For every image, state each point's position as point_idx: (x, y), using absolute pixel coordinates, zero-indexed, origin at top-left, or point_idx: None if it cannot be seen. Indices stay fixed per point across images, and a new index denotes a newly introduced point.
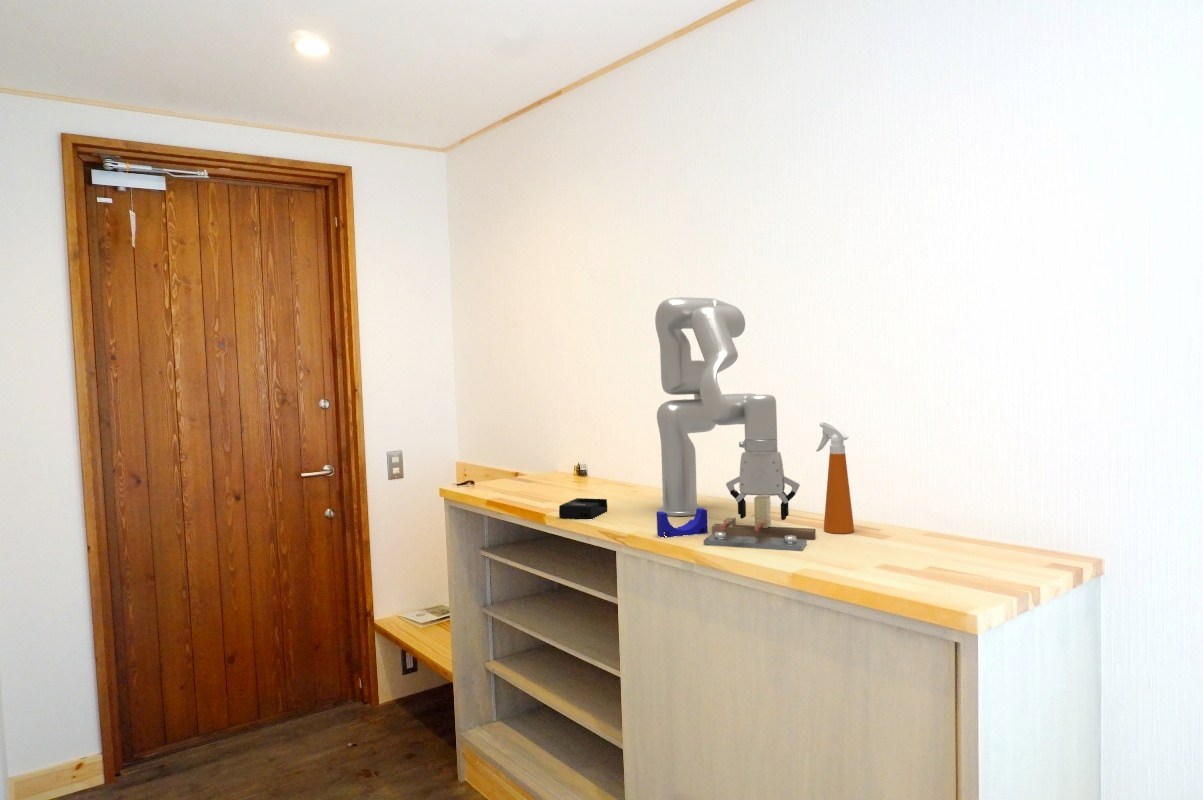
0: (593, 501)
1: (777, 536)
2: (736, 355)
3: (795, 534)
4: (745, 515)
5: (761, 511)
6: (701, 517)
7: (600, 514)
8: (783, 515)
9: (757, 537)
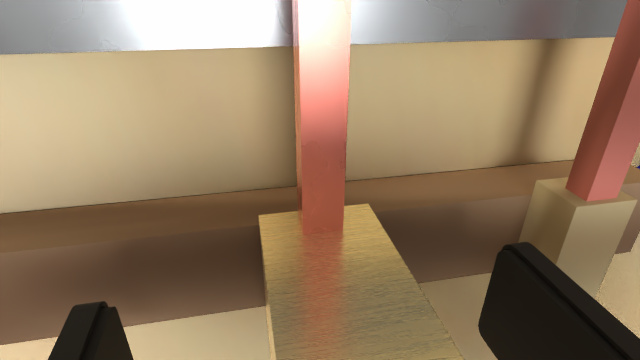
0: None
1: (182, 202)
2: None
3: (14, 230)
4: (485, 321)
5: (347, 321)
6: None
7: None
8: (60, 343)
9: None
